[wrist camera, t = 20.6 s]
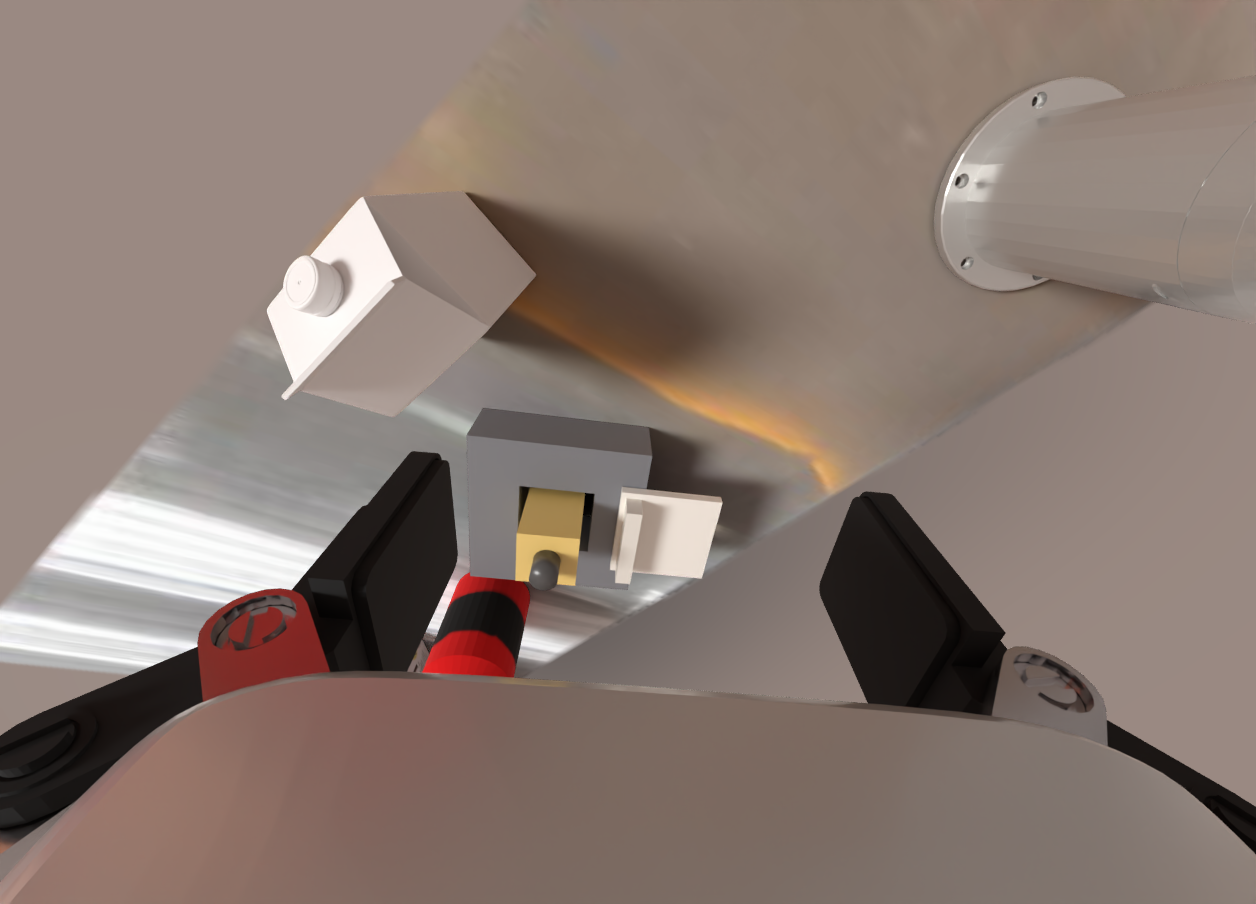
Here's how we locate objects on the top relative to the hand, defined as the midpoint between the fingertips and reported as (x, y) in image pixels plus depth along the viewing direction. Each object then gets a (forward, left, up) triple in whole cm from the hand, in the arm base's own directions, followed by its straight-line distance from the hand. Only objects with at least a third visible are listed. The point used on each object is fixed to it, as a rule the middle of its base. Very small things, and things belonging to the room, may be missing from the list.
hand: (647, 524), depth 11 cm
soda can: (+10, +32, -29) cm, 44 cm away
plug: (+4, +18, -28) cm, 34 cm away
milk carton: (+12, 0, -29) cm, 31 cm away
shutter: (-5, +18, -23) cm, 30 cm away
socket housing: (+4, +18, -28) cm, 34 cm away
